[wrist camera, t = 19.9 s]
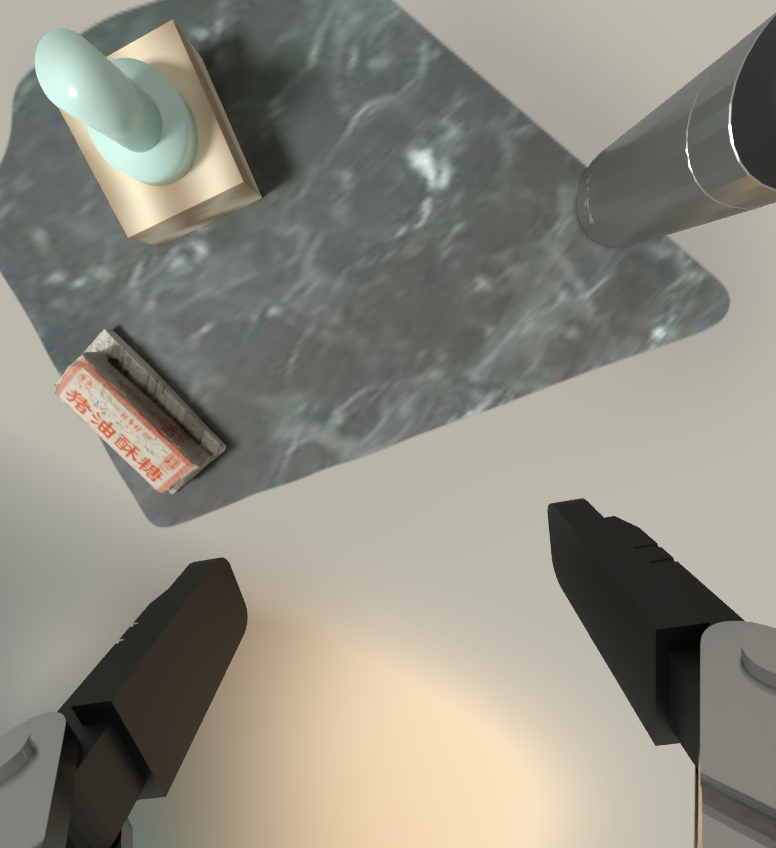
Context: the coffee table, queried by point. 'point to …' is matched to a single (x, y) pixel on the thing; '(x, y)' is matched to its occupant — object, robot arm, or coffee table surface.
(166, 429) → the packaged product
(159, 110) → the mint green knob
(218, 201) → the block
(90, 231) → the coffee table surface
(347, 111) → the coffee table surface
